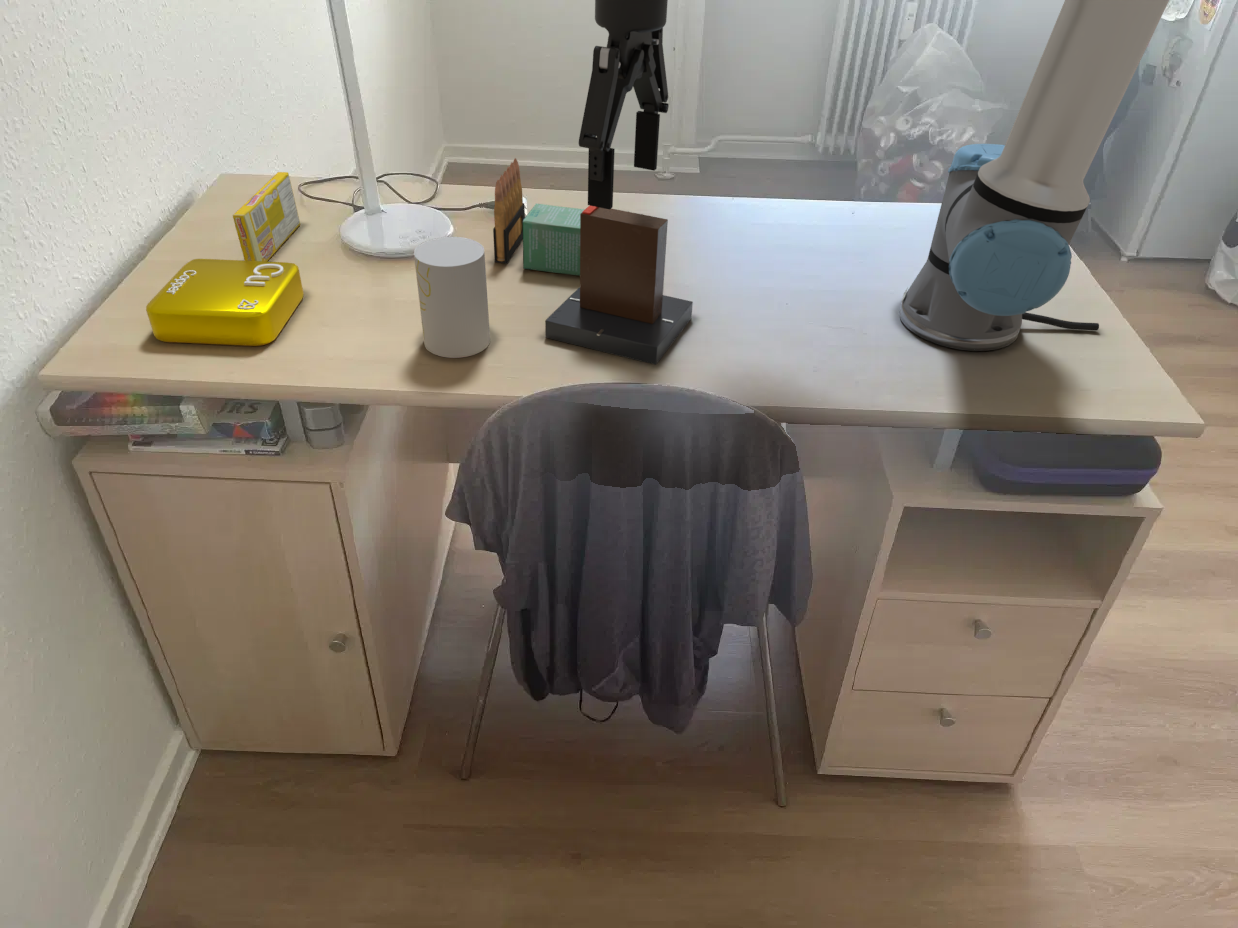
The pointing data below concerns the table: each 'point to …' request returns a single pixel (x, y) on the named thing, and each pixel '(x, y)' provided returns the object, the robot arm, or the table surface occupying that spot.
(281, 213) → the candy box
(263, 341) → the element tile
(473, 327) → the cup
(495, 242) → the ammunition clip
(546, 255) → the box
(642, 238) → the brown red-tipped block
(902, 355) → the table surface
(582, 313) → the dark grey square slab
